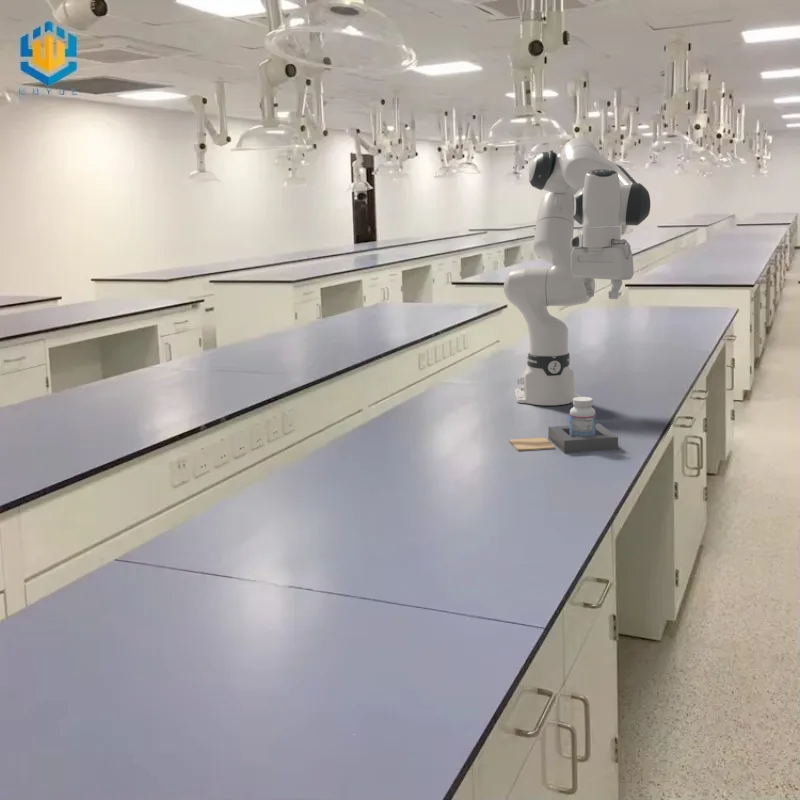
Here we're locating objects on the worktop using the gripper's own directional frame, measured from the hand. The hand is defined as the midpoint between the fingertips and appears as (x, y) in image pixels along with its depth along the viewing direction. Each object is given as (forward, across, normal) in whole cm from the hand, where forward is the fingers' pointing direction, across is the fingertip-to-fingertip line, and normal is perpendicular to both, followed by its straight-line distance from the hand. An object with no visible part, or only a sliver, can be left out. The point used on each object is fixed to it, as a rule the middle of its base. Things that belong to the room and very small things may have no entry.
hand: (601, 297), depth 207 cm
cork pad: (+34, +2, +19) cm, 39 cm away
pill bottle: (+35, -3, +8) cm, 36 cm away
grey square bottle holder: (+34, -3, +8) cm, 35 cm away
